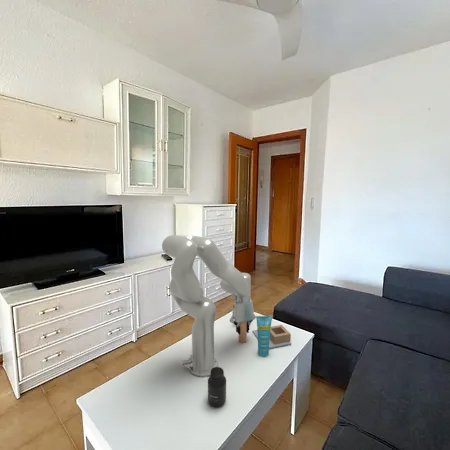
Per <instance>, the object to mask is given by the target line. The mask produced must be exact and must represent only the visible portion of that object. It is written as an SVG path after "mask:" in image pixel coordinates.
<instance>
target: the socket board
mask: <svg viewBox="0 0 450 450" xmlns="http://www.w3.org/2000/svg"><path fill="white" fill-rule="evenodd" d="M252 334H253V336H255V338H256V340H258V332H257V329H255V330H254V329H253V330H252ZM291 335H292V334H291V332H289V330H288V329H287V328H286V327H284V325H283V324H278V325H271V330H270V341H269V350H274V348H275V349H278V348H283V347H289V346H292V343H291V340H292V339H291V337H292V336H291ZM288 345H289V346H288Z"/></svg>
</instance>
